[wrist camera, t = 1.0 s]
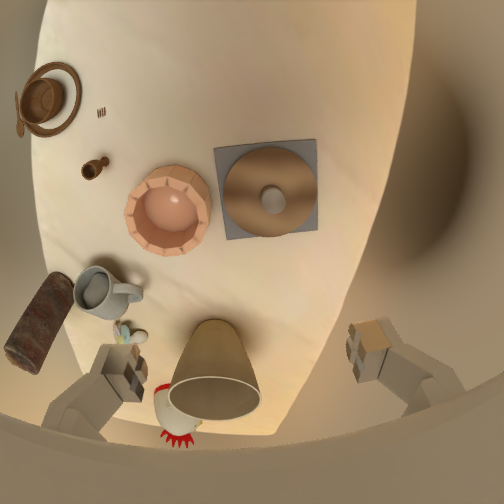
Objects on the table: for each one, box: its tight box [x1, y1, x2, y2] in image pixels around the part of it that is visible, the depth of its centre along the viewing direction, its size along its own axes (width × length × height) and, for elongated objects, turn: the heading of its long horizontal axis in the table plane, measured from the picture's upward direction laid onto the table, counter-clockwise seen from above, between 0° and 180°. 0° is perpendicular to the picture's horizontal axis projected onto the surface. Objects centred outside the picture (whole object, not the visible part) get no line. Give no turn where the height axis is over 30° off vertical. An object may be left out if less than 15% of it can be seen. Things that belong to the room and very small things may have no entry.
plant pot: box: [167, 319, 262, 421], centre depth 48 cm, size 15×15×16 cm
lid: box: [223, 148, 317, 237], centre depth 39 cm, size 13×13×5 cm
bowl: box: [124, 165, 212, 257], centre depth 38 cm, size 11×11×6 cm
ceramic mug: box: [73, 265, 143, 320], centre depth 43 cm, size 11×8×8 cm
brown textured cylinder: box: [4, 272, 74, 375], centre depth 39 cm, size 8×7×20 cm
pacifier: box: [113, 324, 148, 344], centre depth 53 cm, size 7×6×6 cm
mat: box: [214, 139, 318, 240], centre depth 41 cm, size 14×14×1 cm
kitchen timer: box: [154, 384, 202, 448], centre depth 60 cm, size 14×14×15 cm
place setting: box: [15, 62, 109, 180], centre depth 30 cm, size 18×20×6 cm
